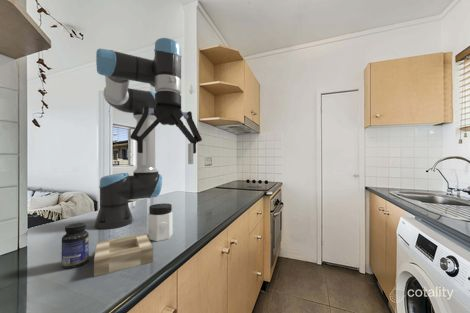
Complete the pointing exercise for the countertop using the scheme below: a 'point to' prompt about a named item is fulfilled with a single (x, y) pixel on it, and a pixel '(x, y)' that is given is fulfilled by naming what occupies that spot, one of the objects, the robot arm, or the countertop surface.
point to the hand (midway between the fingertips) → (168, 164)
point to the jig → (122, 254)
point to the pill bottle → (75, 246)
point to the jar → (160, 222)
